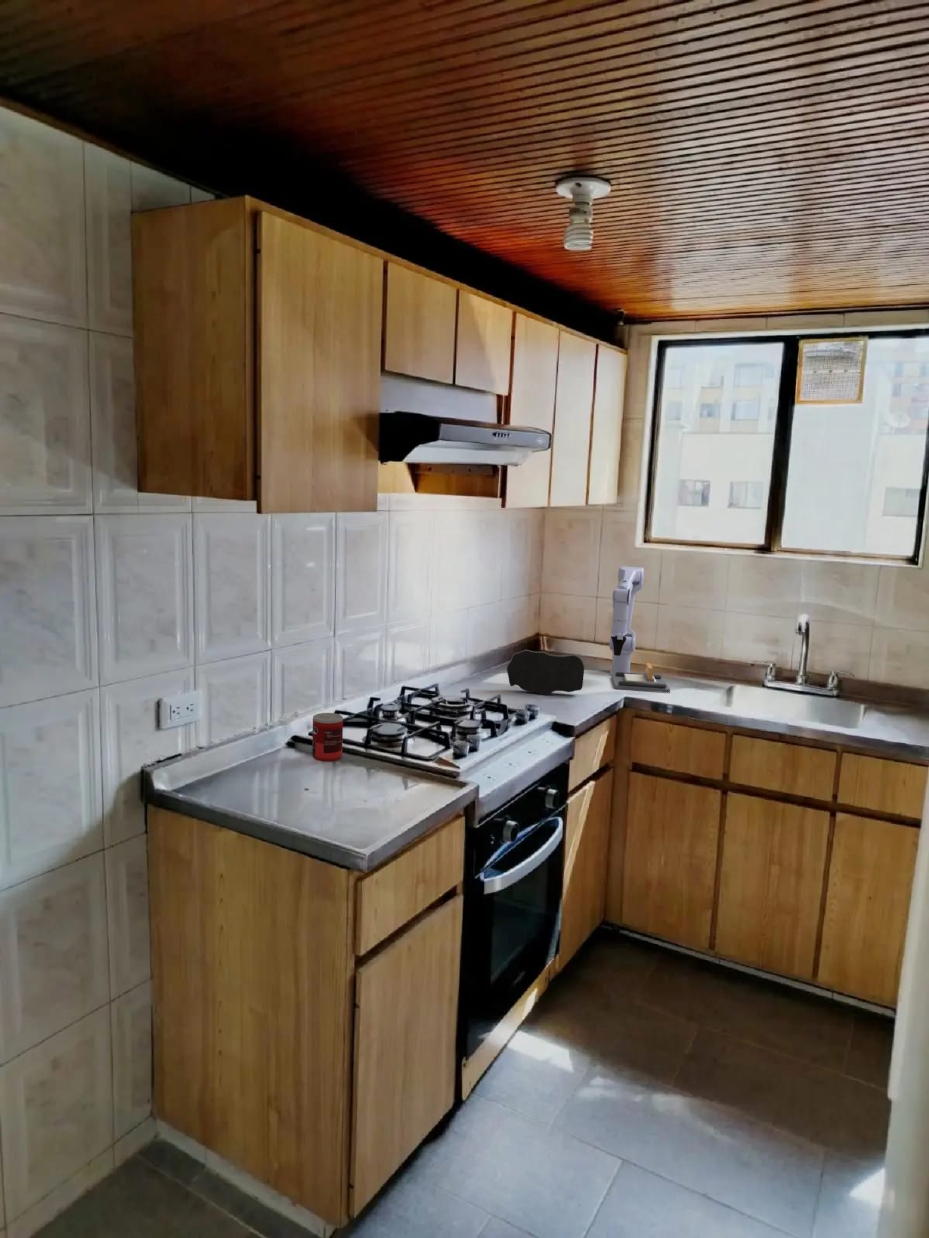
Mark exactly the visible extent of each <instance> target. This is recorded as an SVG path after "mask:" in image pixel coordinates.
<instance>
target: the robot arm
mask: <svg viewBox="0 0 929 1238" xmlns="http://www.w3.org/2000/svg"><path fill="white" fill-rule="evenodd" d="M644 577H645V568H644V567H643V566H642V567H637V566H636V567H635V566H624V565H620V566H619V567H618V572H617V579H618V580H617V581H618V582H617V583H618V584H617V587H616V588H615V589H613V591H612V616H611V617H612V620H611V630H610V634H611V635H610V637H609V645H608V646H609V649H610V651H611V652H612V661H611V668H610V669H609V672H610V676H612V675H615V673H616V672H624V673H631V661H632V653H634V652H635V650H636V644H637V634H636V632H635V631H634V630H633V629H632V628H631V627H632V621H633V620H632V619H633V612H634V605H635V598H636V596H637V592H639V591H641V590H642V587H643V583H644Z"/></svg>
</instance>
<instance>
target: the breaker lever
mask: <svg viewBox="0 0 929 1238" xmlns="http://www.w3.org/2000/svg"><path fill="white" fill-rule="evenodd" d="M653 672H654V668H653V665H652V664H651V663H648V662H647V663H646V666H645V672H643V673H642V674H643V676H644V678H645V680H646V681H653V682H654V678H653V676H652V674H653Z"/></svg>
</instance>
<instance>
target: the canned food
mask: <svg viewBox="0 0 929 1238" xmlns="http://www.w3.org/2000/svg"><path fill="white" fill-rule="evenodd" d="M343 735H344V717H343V715H341V714H339V713H334V712H321V713H316V714H314V715H313V716H312V737H311V738H312V744H311V745H312V747H311V748H312V749H311V750H312V751H311V753H312V758H313V759H314V760H317V761H320V762H335V761H339V760H340V759H341V758H342V756H343V742H344V741H343V737H344V736H343Z"/></svg>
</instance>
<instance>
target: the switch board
mask: <svg viewBox="0 0 929 1238" xmlns="http://www.w3.org/2000/svg"><path fill="white" fill-rule="evenodd" d="M652 676H653V678H654V682H653V681H646V680H645V678H644V676H643V673H639V672H638V673H636V672H630V673H624V672H616V673H615V675H611V681H612V684H613V686H614V690H625V691H637V690H638V692H651V691H662V692H661V693H666V692H667V693H668V692H669V693H671V688H670V687H669V685H668V683H667V681H666V680H665V678H664V677H663V678H662V675H661V674H652Z"/></svg>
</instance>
